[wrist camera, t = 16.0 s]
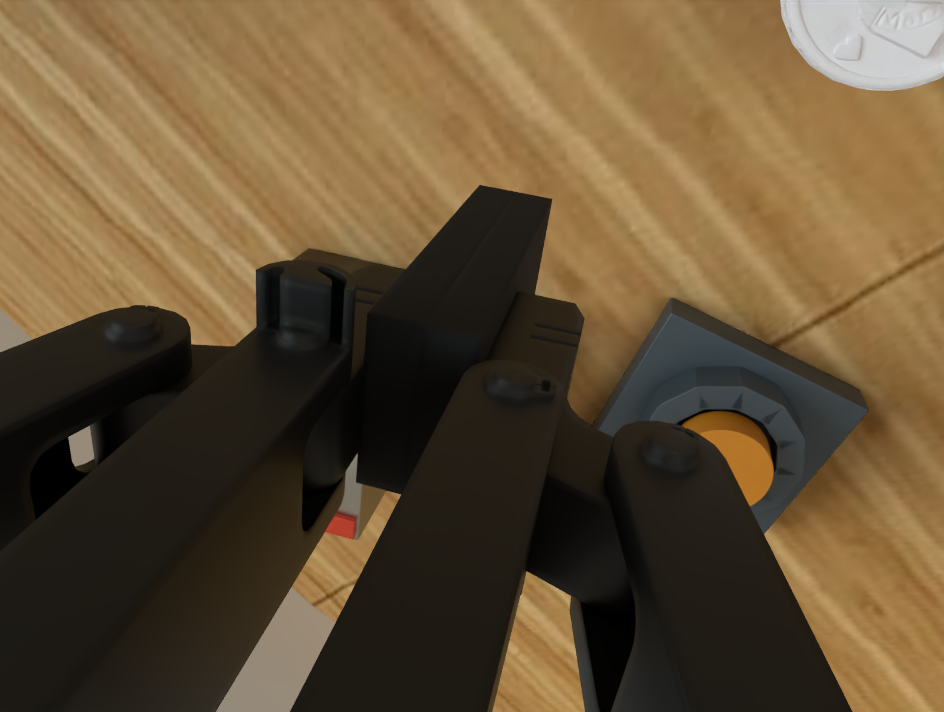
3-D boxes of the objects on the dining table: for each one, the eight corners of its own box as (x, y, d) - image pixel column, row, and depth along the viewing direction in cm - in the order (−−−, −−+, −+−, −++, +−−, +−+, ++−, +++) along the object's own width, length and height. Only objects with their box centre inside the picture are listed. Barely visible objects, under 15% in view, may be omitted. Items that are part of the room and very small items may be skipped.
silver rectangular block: (386, 319, 37) (312, 404, 30) (429, 328, 37) (365, 417, 29) (377, 428, 40) (308, 531, 33) (416, 437, 40) (355, 544, 32)
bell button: (652, 464, 36) (652, 485, 35) (701, 394, 34) (702, 413, 32) (735, 505, 36) (738, 528, 34) (789, 438, 34) (795, 459, 32)
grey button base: (586, 434, 40) (578, 477, 37) (671, 296, 36) (671, 329, 33) (754, 518, 40) (761, 568, 37) (860, 389, 36) (880, 433, 32)
